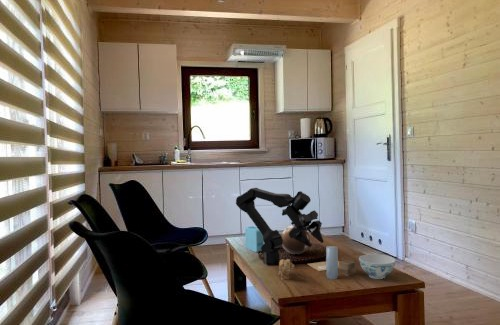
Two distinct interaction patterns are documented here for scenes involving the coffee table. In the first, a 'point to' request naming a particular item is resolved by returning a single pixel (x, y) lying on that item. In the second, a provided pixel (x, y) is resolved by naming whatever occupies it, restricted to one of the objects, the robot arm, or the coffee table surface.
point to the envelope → (320, 266)
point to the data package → (253, 239)
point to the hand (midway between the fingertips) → (317, 244)
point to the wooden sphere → (293, 242)
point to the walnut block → (347, 267)
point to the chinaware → (377, 265)
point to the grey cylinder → (332, 262)
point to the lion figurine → (285, 268)
